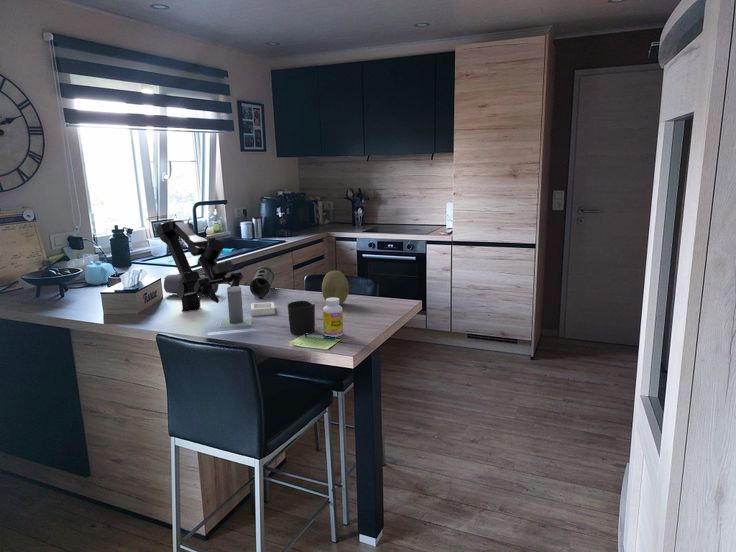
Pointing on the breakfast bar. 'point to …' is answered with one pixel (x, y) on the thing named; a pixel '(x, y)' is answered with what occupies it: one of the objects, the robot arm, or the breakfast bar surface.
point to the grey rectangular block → (235, 304)
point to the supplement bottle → (333, 318)
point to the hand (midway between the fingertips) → (229, 299)
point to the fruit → (335, 286)
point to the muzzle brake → (262, 281)
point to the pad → (227, 324)
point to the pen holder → (301, 317)
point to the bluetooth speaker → (173, 283)
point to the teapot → (98, 272)
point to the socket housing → (262, 308)
